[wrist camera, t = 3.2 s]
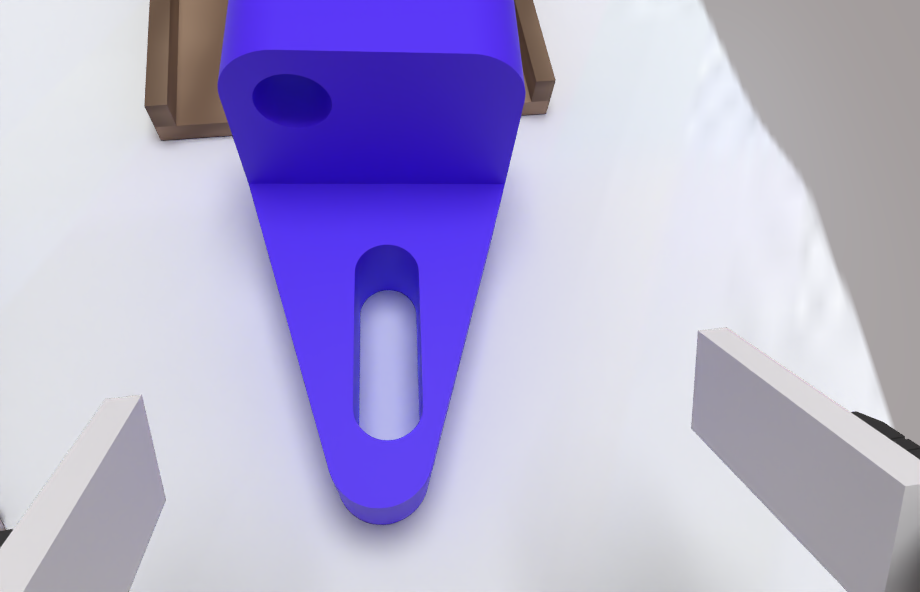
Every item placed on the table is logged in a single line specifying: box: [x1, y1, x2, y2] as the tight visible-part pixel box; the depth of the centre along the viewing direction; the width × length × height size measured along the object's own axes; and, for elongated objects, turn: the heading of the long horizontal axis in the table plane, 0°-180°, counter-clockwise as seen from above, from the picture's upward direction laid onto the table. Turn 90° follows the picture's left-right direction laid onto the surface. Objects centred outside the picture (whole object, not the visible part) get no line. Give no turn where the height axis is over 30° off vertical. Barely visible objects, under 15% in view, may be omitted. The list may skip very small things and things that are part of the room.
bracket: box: [218, 0, 525, 525], centre depth 26 cm, size 18×11×12 cm, turn 3°
